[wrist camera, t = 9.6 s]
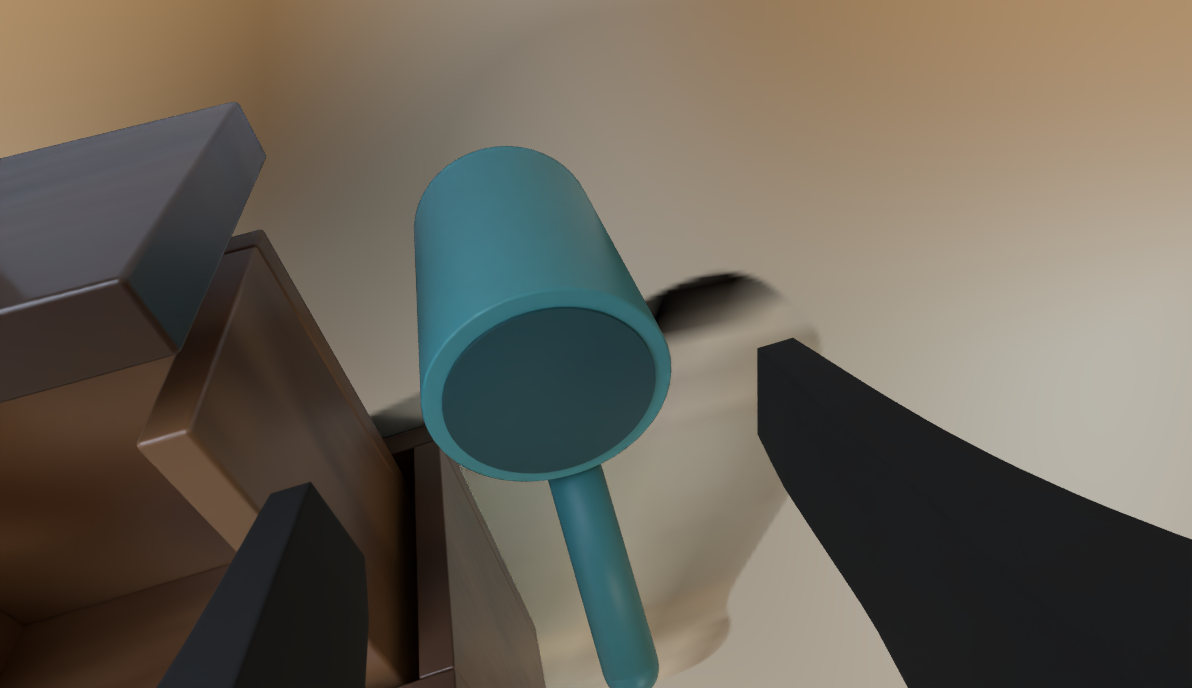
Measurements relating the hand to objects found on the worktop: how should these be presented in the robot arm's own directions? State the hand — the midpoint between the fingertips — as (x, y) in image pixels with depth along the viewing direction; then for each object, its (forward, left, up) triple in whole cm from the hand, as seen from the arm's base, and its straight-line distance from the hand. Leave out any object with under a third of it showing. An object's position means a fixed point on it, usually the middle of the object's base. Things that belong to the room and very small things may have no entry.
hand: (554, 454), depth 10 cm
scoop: (+2, -1, -8) cm, 8 cm away
